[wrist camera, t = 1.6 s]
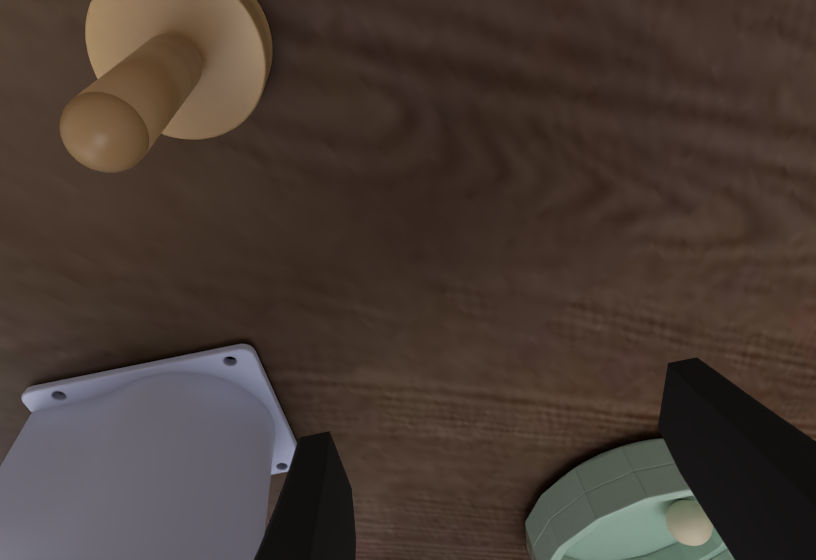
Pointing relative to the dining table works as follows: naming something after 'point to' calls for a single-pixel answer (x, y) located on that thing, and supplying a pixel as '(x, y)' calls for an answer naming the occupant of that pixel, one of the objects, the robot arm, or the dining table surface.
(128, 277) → the dining table surface
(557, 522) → the bowl
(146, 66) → the wooden rubber stamp
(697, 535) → the ball
